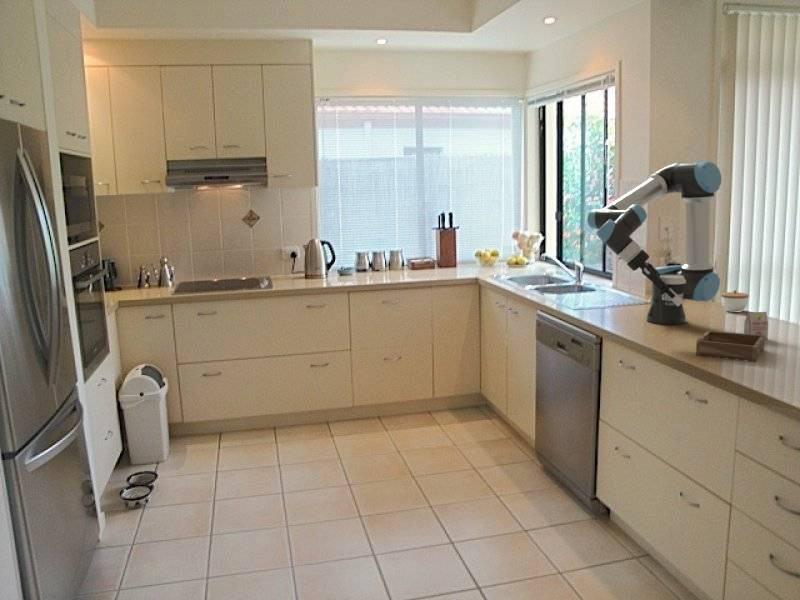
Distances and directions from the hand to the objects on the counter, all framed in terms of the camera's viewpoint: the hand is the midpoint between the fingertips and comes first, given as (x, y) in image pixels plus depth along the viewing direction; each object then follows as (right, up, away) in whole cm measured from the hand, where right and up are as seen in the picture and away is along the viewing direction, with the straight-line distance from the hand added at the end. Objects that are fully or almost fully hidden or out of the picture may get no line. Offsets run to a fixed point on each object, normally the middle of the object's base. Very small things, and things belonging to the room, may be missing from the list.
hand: (680, 301), depth 242 cm
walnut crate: (+13, -17, -8) cm, 24 cm away
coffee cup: (-3, -6, +2) cm, 7 cm away
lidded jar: (+49, -5, +62) cm, 79 cm away
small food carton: (+32, -14, +10) cm, 36 cm away
